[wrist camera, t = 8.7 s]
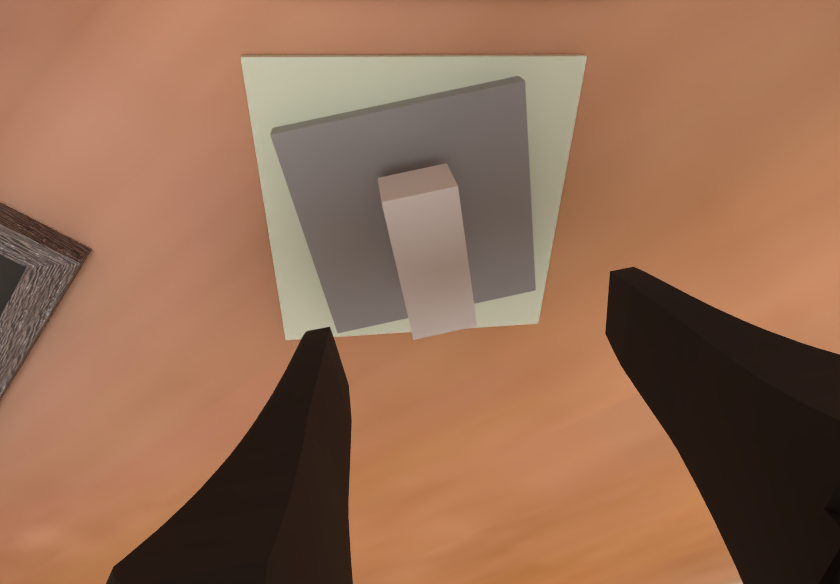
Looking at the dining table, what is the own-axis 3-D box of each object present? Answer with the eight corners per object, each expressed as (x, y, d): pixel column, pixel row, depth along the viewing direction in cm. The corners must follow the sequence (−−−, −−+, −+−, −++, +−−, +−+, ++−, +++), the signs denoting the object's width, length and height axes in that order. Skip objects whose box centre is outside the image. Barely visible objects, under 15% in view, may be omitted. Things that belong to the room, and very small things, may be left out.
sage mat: (582, 54, 19) (587, 56, 19) (535, 318, 26) (538, 323, 25) (242, 54, 17) (240, 56, 17) (286, 334, 24) (285, 340, 24)
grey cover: (518, 75, 19) (561, 107, 15) (530, 280, 24) (564, 341, 20) (272, 127, 19) (256, 172, 15) (337, 322, 24) (337, 391, 20)
